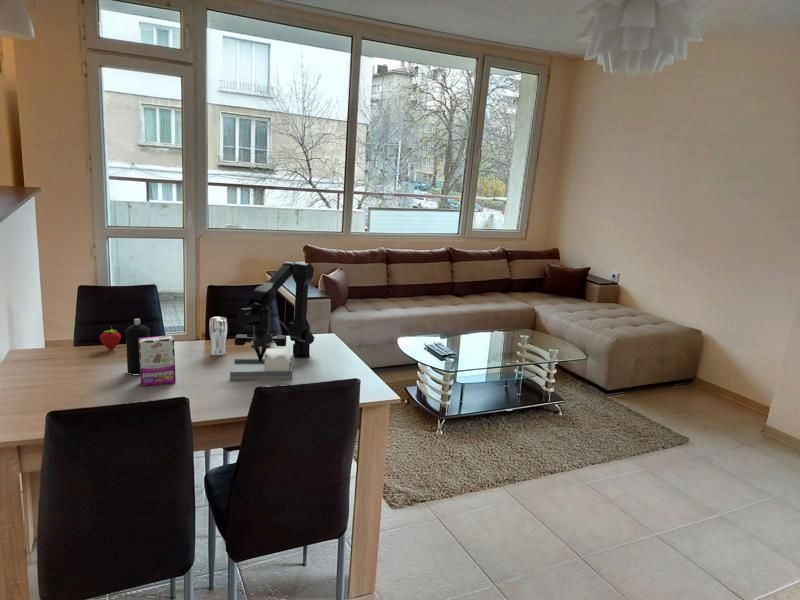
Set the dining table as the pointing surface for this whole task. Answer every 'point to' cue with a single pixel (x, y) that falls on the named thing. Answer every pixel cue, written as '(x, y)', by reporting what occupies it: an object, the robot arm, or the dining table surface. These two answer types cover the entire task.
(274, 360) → the cover
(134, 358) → the black bottle
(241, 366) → the housing base
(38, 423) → the dining table surface
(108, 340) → the strawberry
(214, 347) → the beer glass
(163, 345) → the candy bar box
